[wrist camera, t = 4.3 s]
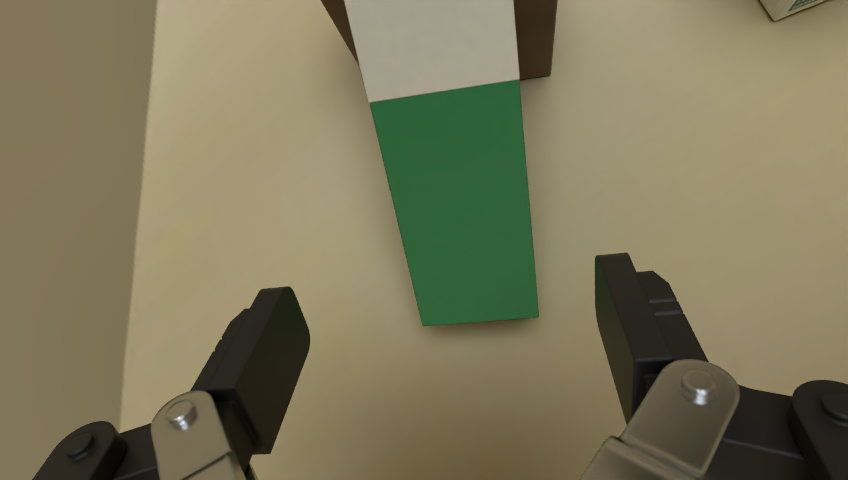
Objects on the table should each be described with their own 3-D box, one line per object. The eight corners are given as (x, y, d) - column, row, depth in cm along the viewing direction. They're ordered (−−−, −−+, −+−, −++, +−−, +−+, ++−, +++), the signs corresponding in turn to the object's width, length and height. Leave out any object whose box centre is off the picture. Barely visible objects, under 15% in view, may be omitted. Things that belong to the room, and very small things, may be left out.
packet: (538, 321, 27) (549, 287, 14) (431, 329, 28) (349, 304, 15) (511, 85, 30) (500, -121, 17) (416, 100, 31) (338, -85, 18)
